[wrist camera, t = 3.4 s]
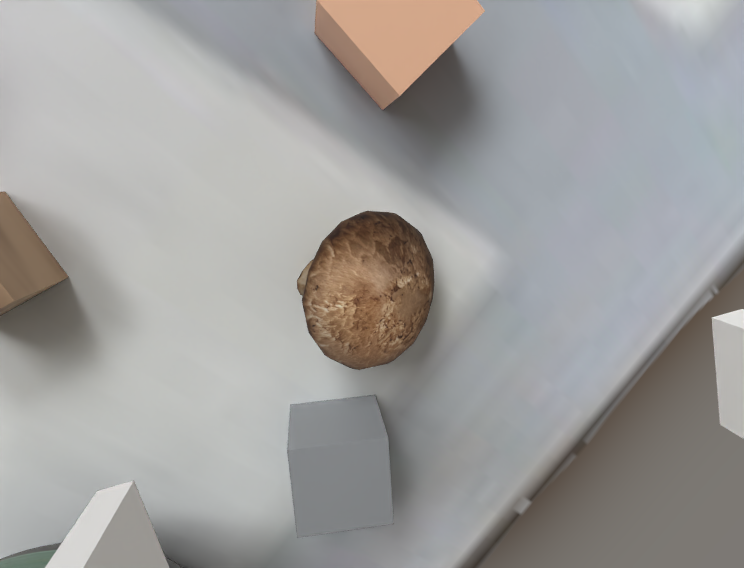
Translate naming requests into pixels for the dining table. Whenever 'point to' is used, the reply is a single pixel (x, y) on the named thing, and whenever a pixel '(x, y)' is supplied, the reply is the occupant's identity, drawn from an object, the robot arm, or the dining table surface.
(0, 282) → the walnut cube
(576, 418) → the dining table surface
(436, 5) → the terracotta cube
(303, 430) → the slate cube
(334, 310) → the mushroom
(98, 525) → the robot arm
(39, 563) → the planter
